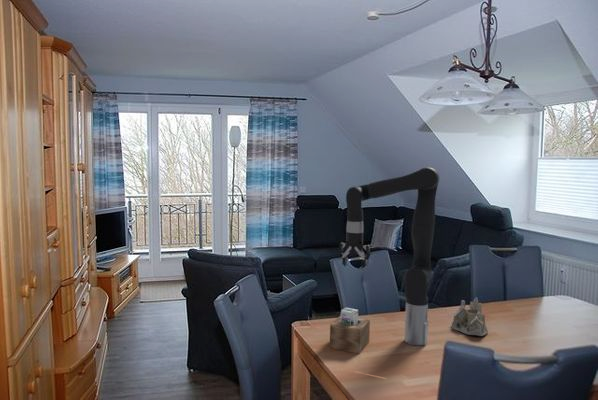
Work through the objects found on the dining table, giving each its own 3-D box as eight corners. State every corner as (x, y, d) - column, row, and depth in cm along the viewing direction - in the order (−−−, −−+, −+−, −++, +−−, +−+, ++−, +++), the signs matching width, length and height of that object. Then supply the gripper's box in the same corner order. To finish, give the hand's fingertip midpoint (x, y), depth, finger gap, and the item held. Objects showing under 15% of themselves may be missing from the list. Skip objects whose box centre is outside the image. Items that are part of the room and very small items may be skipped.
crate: (369, 342, 193) (369, 319, 192) (359, 353, 181) (360, 329, 180) (340, 337, 198) (341, 315, 198) (329, 347, 187) (330, 324, 186)
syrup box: (339, 344, 188) (340, 310, 187) (345, 339, 194) (346, 306, 192) (352, 347, 186) (353, 312, 184) (357, 342, 191) (358, 309, 190)
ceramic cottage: (453, 323, 219) (454, 292, 218) (489, 329, 211) (491, 298, 210) (446, 333, 206) (448, 301, 204) (485, 340, 198) (487, 307, 197)
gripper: (372, 231, 202) (371, 266, 203) (342, 228, 208) (342, 263, 209) (367, 233, 195) (366, 270, 196) (337, 230, 201) (336, 266, 202)
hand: (354, 266), depth 203 cm, fingers open, 8 cm apart
